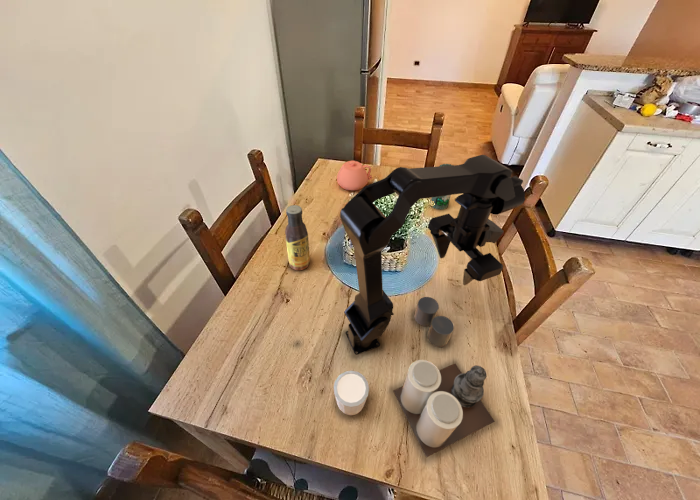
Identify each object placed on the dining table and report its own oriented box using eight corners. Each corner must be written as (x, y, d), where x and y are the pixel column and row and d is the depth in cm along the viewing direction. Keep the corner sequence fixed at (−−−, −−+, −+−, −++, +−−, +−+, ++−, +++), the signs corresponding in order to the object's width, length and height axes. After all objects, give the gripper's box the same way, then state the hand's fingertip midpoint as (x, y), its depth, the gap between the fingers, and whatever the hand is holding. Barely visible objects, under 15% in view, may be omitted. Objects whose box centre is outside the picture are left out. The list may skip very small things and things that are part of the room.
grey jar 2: (434, 350, 72) (439, 337, 68) (422, 333, 76) (427, 319, 71) (452, 343, 74) (458, 330, 69) (440, 326, 77) (445, 312, 73)
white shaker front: (427, 453, 57) (441, 433, 49) (410, 420, 61) (420, 397, 53) (453, 439, 59) (471, 418, 50) (436, 408, 63) (450, 383, 54)
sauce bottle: (297, 274, 89) (288, 221, 75) (285, 263, 92) (274, 209, 78) (315, 264, 92) (310, 210, 78) (303, 253, 95) (296, 199, 81)
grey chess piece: (470, 415, 62) (489, 391, 53) (444, 394, 65) (459, 368, 56) (483, 393, 65) (503, 368, 56) (458, 374, 68) (474, 347, 59)
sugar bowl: (335, 177, 127) (335, 154, 120) (369, 176, 128) (370, 153, 121) (338, 194, 119) (337, 170, 111) (374, 192, 120) (375, 168, 113)
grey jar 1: (420, 330, 76) (425, 316, 72) (410, 314, 80) (414, 300, 75) (437, 323, 78) (443, 309, 73) (426, 308, 81) (431, 294, 77)
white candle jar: (335, 383, 66) (334, 369, 62) (367, 385, 66) (368, 370, 62) (333, 418, 62) (332, 405, 57) (367, 419, 61) (369, 407, 57)
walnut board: (425, 458, 57) (426, 457, 57) (392, 391, 66) (392, 390, 65) (494, 422, 61) (495, 421, 61) (454, 364, 70) (455, 363, 70)
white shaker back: (409, 419, 61) (419, 395, 53) (395, 390, 65) (402, 364, 57) (435, 406, 63) (449, 382, 55) (419, 379, 67) (430, 353, 58)
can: (438, 211, 111) (447, 174, 101) (427, 202, 115) (435, 166, 105) (450, 206, 114) (461, 170, 103) (439, 198, 117) (448, 162, 107)
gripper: (538, 237, 58) (507, 289, 69) (474, 187, 71) (457, 237, 82) (491, 252, 55) (467, 304, 66) (433, 197, 68) (421, 248, 78)
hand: (453, 270), depth 73 cm, fingers open, 9 cm apart
